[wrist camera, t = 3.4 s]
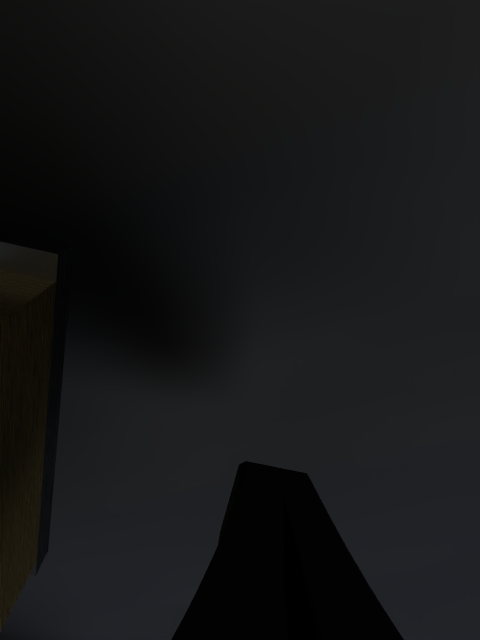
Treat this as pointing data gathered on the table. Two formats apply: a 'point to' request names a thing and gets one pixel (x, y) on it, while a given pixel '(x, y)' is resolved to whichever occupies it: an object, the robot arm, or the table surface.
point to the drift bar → (29, 400)
